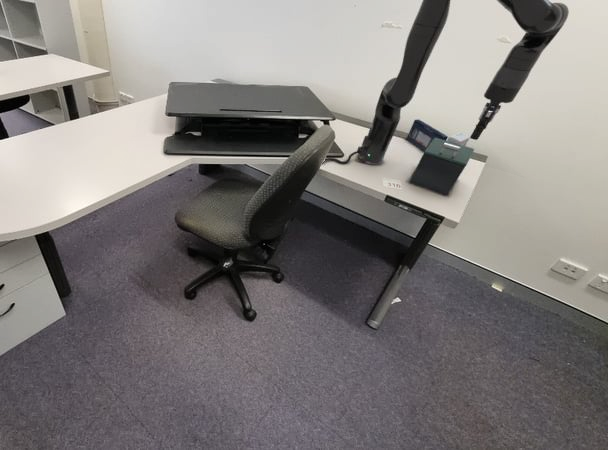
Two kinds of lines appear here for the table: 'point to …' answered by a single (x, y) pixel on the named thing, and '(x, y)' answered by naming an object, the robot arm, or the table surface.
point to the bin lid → (449, 151)
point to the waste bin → (436, 174)
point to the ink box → (459, 139)
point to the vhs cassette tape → (423, 135)
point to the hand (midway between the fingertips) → (475, 135)
